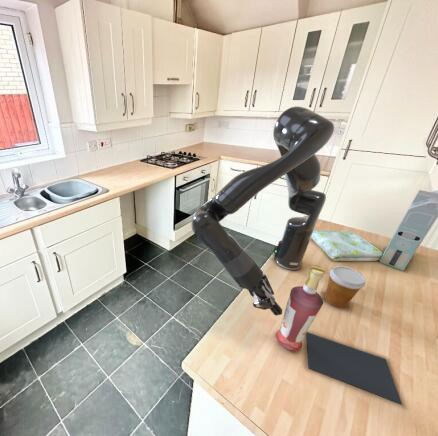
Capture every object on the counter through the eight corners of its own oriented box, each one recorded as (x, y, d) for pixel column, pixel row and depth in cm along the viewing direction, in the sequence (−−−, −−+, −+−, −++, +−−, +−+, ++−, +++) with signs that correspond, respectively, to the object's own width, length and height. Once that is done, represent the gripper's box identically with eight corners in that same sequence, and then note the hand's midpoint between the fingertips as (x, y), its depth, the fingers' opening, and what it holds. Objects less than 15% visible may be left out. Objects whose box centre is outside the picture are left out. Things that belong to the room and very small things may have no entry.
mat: (308, 368, 65) (308, 367, 65) (305, 332, 74) (306, 331, 74) (401, 404, 57) (401, 403, 57) (385, 359, 67) (385, 358, 67)
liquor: (301, 358, 67) (337, 284, 54) (272, 346, 71) (299, 272, 57) (302, 338, 73) (335, 265, 59) (275, 327, 76) (301, 256, 63)
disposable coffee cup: (348, 295, 87) (362, 269, 81) (355, 315, 79) (371, 288, 74) (317, 287, 91) (328, 262, 85) (321, 306, 83) (333, 279, 77)
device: (387, 247, 112) (421, 186, 97) (410, 255, 107) (450, 191, 92) (378, 262, 103) (414, 197, 88) (403, 271, 98) (445, 204, 83)
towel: (382, 262, 103) (387, 252, 100) (331, 262, 103) (335, 252, 101) (350, 238, 119) (355, 229, 116) (307, 238, 119) (310, 229, 117)
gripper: (250, 277, 60) (292, 329, 61) (255, 249, 70) (291, 293, 71) (225, 286, 65) (265, 334, 66) (234, 258, 75) (268, 300, 76)
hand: (279, 312), depth 69 cm, fingers closed
